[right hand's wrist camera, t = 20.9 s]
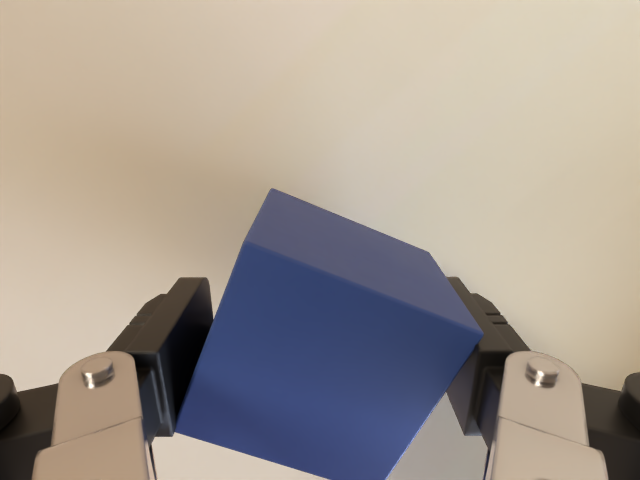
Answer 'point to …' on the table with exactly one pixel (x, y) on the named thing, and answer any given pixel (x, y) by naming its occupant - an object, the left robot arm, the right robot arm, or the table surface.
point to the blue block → (326, 346)
